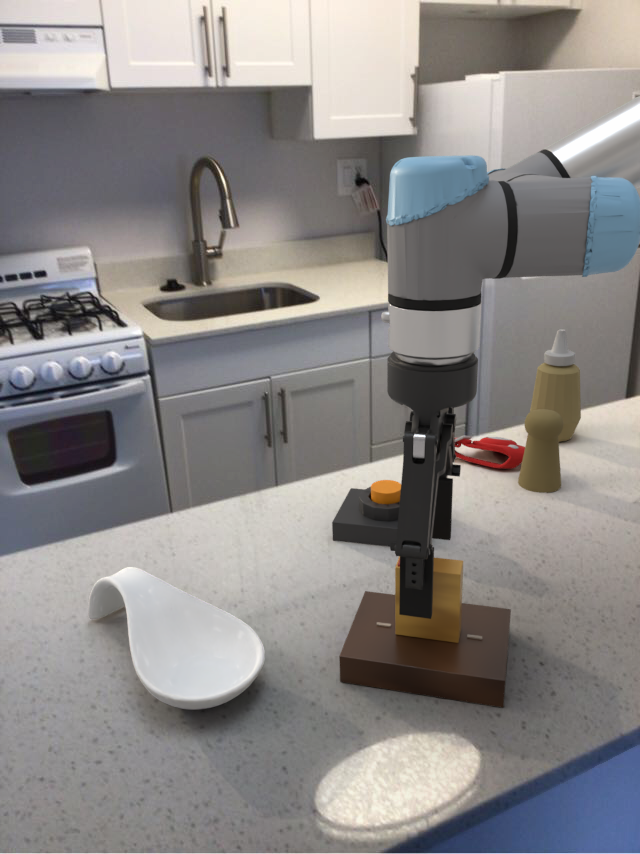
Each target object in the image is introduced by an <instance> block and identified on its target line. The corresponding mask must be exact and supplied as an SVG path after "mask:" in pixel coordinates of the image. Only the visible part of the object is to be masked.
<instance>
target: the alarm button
mask: <svg viewBox="0 0 640 854" xmlns="http://www.w3.org/2000/svg"><path fill="white" fill-rule="evenodd" d="M370 487H371V500H372V501H373V502H376V503H378V504H394V503H398V502H400V493H401V483H400V482H399V481H396V480H392V479H381V480H377V481H375V482H373V483H372V484H371V485H370Z"/></svg>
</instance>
